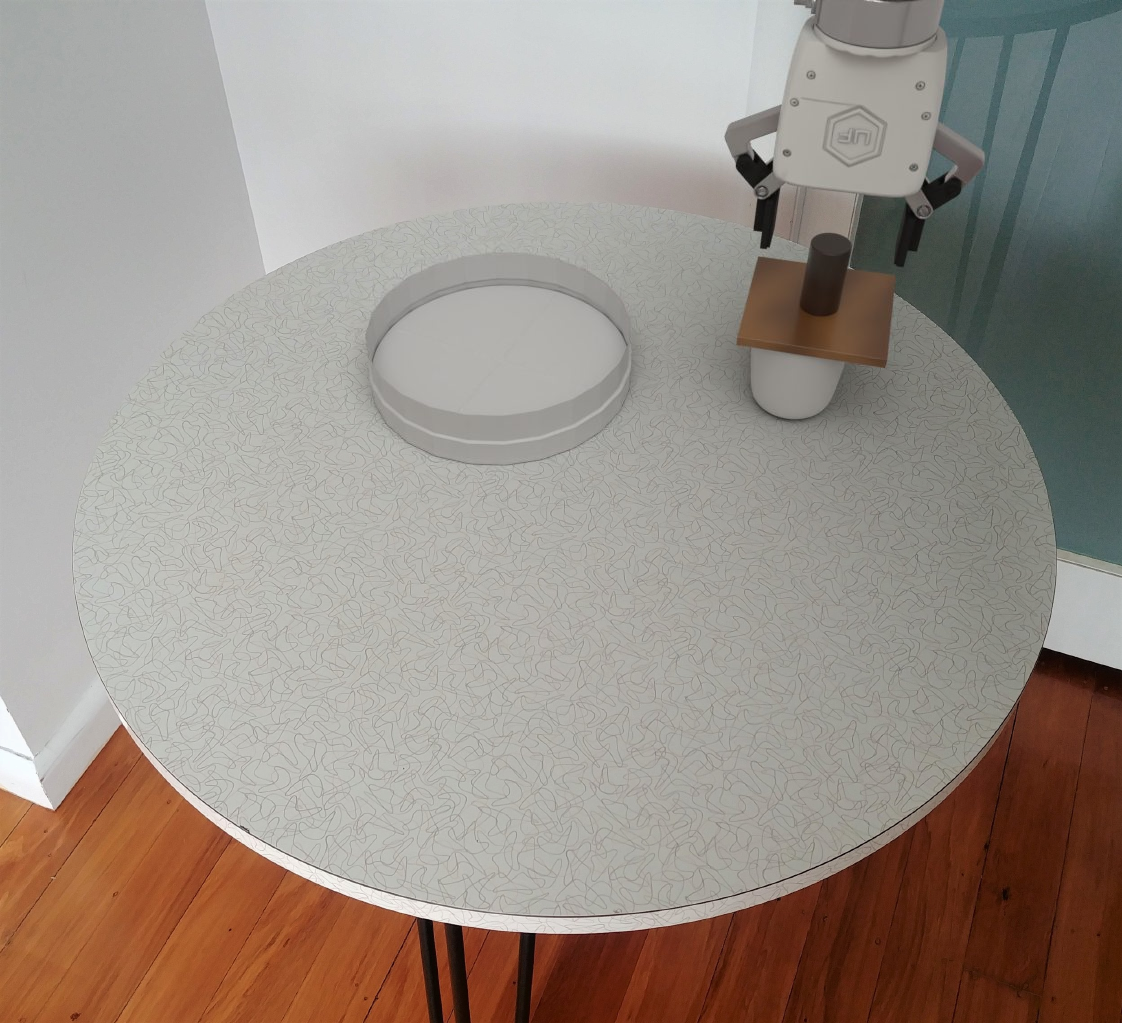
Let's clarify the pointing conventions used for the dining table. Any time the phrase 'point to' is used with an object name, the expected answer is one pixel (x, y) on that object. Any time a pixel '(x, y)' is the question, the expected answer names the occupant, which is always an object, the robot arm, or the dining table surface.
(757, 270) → the square peg stand
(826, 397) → the cup
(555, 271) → the dish
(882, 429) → the dining table surface
